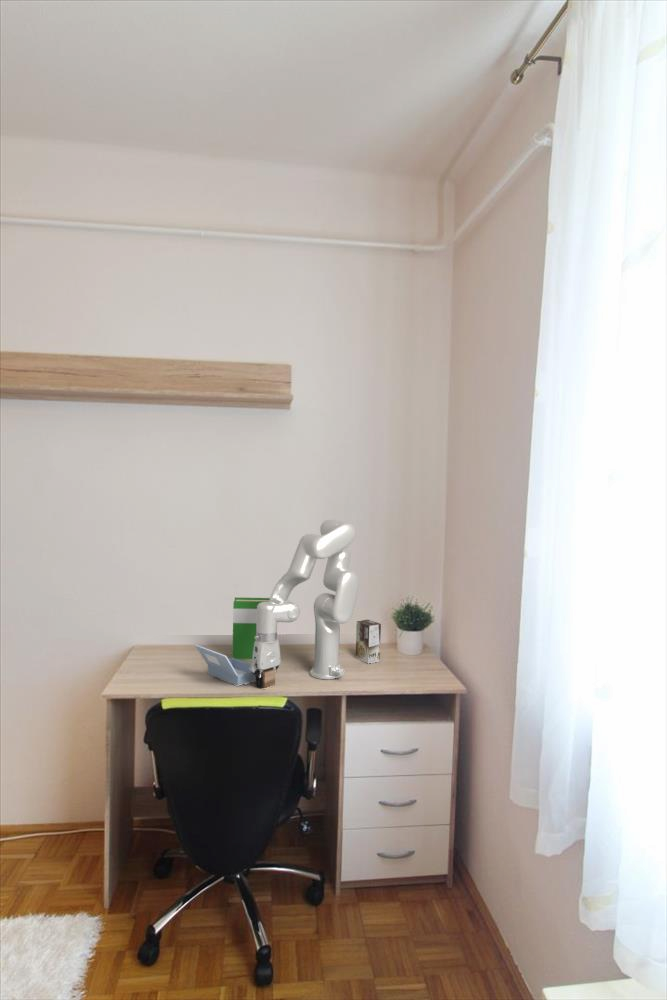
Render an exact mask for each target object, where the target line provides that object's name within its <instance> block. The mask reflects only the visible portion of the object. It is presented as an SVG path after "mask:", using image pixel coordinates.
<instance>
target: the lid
mask: <svg viewBox="0 0 667 1000" xmlns="http://www.w3.org/2000/svg"><path fill="white" fill-rule="evenodd" d="M195 648H196V649H197V651H198V652H199V654H200V655H201V657H202V658H203V660H204V662H205V663H206V665H207V666H208V665H210V666H213V667H215V668H218V669H220V670H223V671H225V672H228V673H230V674H233V675H235V676H238V674H237V673H236V671H235V669H234V668H233V666H232V665H231V663H230V661H229V660H228V659H229V658H228V656H227V655H225V654H222V653H220V652H217V651H214V650H212V649H210V648H207V647H204V646H202V645H199V644H195Z"/></svg>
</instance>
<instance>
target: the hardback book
mask: <svg viewBox="0 0 667 1000" xmlns="http://www.w3.org/2000/svg"><path fill="white" fill-rule="evenodd" d="M269 600H270V597H234V600H233V610H232V611H233V612H232V613H233V615H232V649H231V650H232V654H231V656H232V657H231V658H235V659H238V660H252V659H253V649H254V643H255V641H256V639H255V638H254V637H255V636H256V623H257V605H258V604H259V603H261V602H269Z"/></svg>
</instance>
